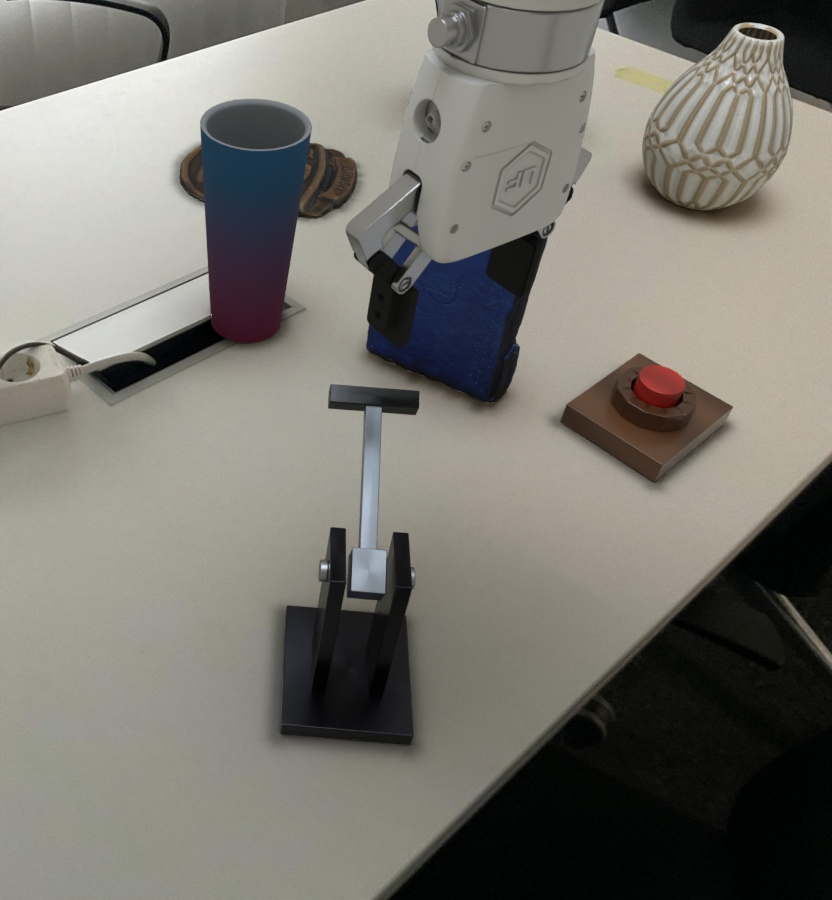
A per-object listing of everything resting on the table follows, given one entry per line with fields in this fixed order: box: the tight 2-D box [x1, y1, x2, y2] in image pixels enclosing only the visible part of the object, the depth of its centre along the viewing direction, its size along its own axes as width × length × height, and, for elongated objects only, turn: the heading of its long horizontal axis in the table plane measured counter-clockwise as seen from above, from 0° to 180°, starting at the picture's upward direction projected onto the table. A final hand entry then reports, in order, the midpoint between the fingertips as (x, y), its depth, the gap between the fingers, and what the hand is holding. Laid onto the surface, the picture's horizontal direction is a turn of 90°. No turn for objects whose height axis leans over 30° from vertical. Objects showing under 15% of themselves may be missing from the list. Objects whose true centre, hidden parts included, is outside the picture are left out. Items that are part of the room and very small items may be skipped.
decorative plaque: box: [179, 142, 358, 217], centre depth 119 cm, size 17×22×1 cm
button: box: [633, 365, 685, 408], centre depth 86 cm, size 4×4×2 cm
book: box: [365, 225, 549, 404], centre depth 87 cm, size 14×5×20 cm, turn 56°
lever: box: [327, 383, 421, 601], centre depth 63 cm, size 14×6×2 cm, turn 176°
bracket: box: [279, 526, 417, 745], centre depth 64 cm, size 10×9×14 cm
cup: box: [199, 98, 313, 344], centre depth 91 cm, size 10×10×22 cm
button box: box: [560, 352, 734, 483], centre depth 88 cm, size 12×10×4 cm
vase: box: [641, 22, 794, 211], centre depth 113 cm, size 16×16×20 cm
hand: (448, 309), depth 58 cm, fingers open, 9 cm apart
